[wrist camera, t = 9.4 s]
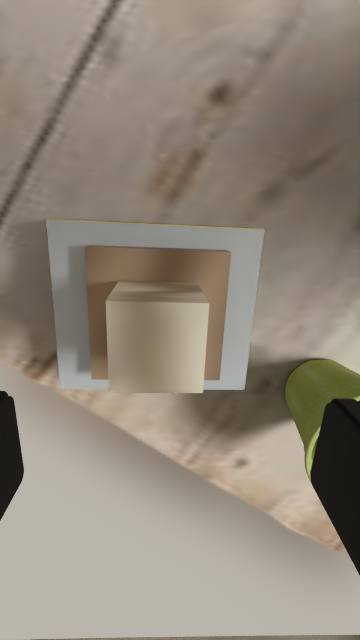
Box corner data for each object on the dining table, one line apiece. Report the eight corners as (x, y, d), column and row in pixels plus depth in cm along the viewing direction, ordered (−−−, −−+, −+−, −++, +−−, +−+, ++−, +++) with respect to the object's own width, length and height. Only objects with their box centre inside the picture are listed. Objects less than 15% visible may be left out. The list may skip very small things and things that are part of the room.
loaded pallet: (226, 250, 21) (254, 263, 15) (216, 371, 24) (235, 424, 18) (89, 245, 20) (59, 257, 14) (95, 370, 23) (72, 425, 17)
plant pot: (244, 392, 29) (278, 462, 21) (320, 319, 27) (390, 364, 19) (309, 444, 31) (362, 525, 23) (383, 380, 30) (468, 443, 21)
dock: (248, 227, 24) (265, 229, 21) (233, 366, 28) (245, 389, 24) (63, 218, 23) (45, 219, 20) (73, 364, 27) (59, 388, 23)
